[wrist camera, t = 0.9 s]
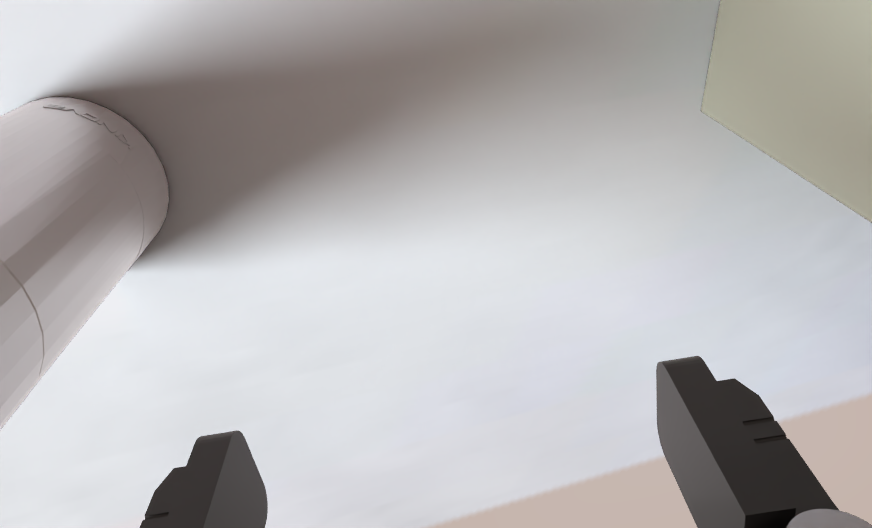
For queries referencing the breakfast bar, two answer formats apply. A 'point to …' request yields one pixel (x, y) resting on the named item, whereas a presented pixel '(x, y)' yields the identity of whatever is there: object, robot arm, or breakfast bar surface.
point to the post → (799, 88)
